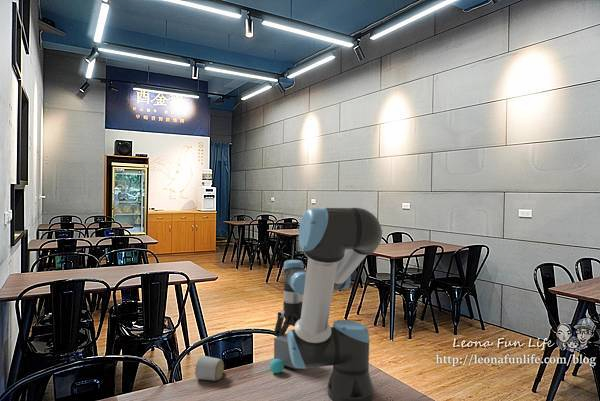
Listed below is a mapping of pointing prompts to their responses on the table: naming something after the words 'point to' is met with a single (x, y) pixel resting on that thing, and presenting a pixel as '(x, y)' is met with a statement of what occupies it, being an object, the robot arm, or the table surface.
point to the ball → (276, 365)
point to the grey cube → (282, 350)
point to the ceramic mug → (209, 368)
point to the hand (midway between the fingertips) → (292, 358)
